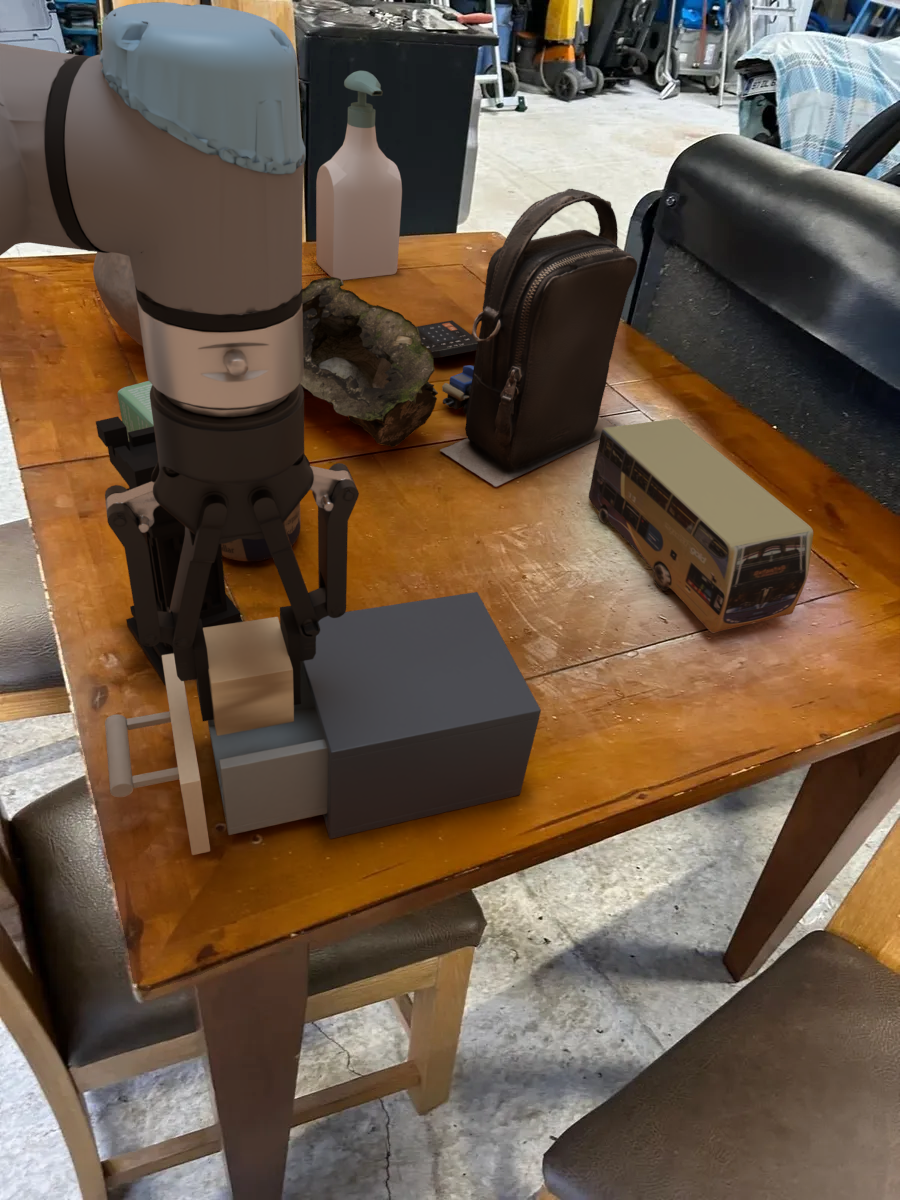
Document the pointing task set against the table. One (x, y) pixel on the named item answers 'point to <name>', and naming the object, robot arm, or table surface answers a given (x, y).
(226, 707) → the block
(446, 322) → the calculator
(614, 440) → the toy bus
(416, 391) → the hollow geode rock
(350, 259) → the soap bottle
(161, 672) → the chess piece
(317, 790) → the drawer
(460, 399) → the toy train
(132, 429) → the box
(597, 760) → the table surface
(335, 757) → the cabinet
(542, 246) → the shoulder bag
